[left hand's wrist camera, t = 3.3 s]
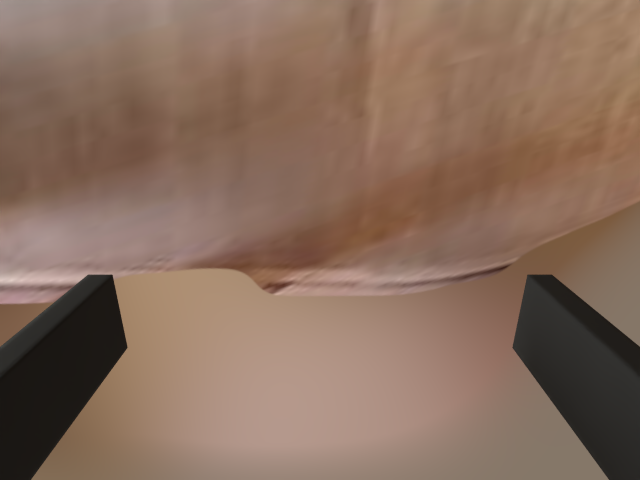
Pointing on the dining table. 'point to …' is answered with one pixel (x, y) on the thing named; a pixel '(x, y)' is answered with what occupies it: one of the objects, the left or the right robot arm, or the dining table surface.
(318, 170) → the dining table surface
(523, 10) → the dining table surface
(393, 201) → the dining table surface
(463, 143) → the dining table surface
